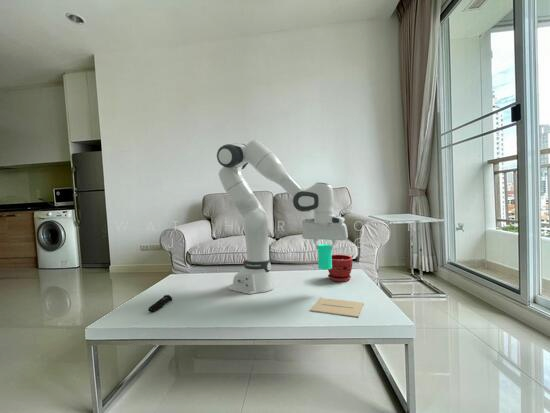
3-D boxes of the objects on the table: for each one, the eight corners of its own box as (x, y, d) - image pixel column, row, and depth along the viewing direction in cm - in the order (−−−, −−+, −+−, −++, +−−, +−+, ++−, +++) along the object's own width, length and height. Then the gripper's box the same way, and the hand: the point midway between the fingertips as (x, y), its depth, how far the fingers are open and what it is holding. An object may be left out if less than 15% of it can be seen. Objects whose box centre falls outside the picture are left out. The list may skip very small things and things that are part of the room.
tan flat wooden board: (309, 311, 107) (309, 309, 107) (320, 298, 120) (319, 297, 120) (358, 317, 99) (358, 316, 99) (363, 303, 112) (363, 302, 112)
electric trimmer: (145, 314, 112) (145, 306, 112) (165, 300, 127) (164, 293, 127) (154, 314, 111) (154, 307, 111) (172, 300, 127) (172, 293, 127)
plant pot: (328, 283, 141) (327, 259, 141) (326, 276, 154) (326, 254, 154) (354, 283, 140) (353, 259, 139) (351, 275, 153) (350, 254, 152)
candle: (332, 269, 123) (331, 242, 123) (318, 269, 124) (317, 242, 124) (331, 266, 129) (331, 240, 129) (318, 266, 130) (318, 240, 130)
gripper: (299, 219, 127) (300, 249, 128) (345, 219, 119) (346, 251, 119) (304, 218, 133) (305, 247, 133) (348, 218, 124) (348, 249, 125)
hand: (324, 249), depth 126 cm, fingers closed on candle, 5 cm apart
